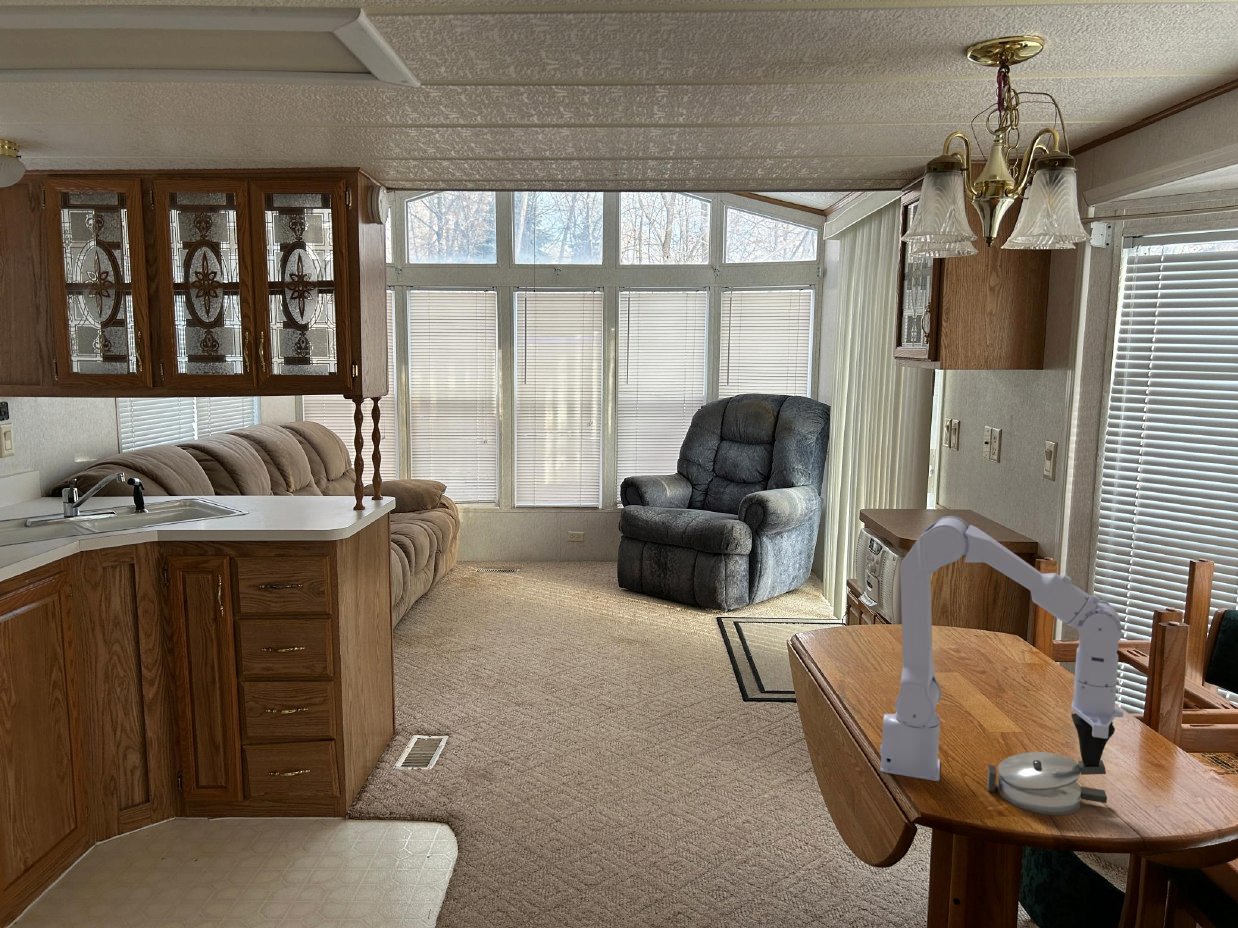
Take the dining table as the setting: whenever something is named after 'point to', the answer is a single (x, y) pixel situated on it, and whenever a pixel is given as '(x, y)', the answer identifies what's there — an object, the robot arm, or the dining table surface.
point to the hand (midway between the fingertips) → (1089, 762)
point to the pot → (1045, 796)
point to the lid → (1044, 770)
